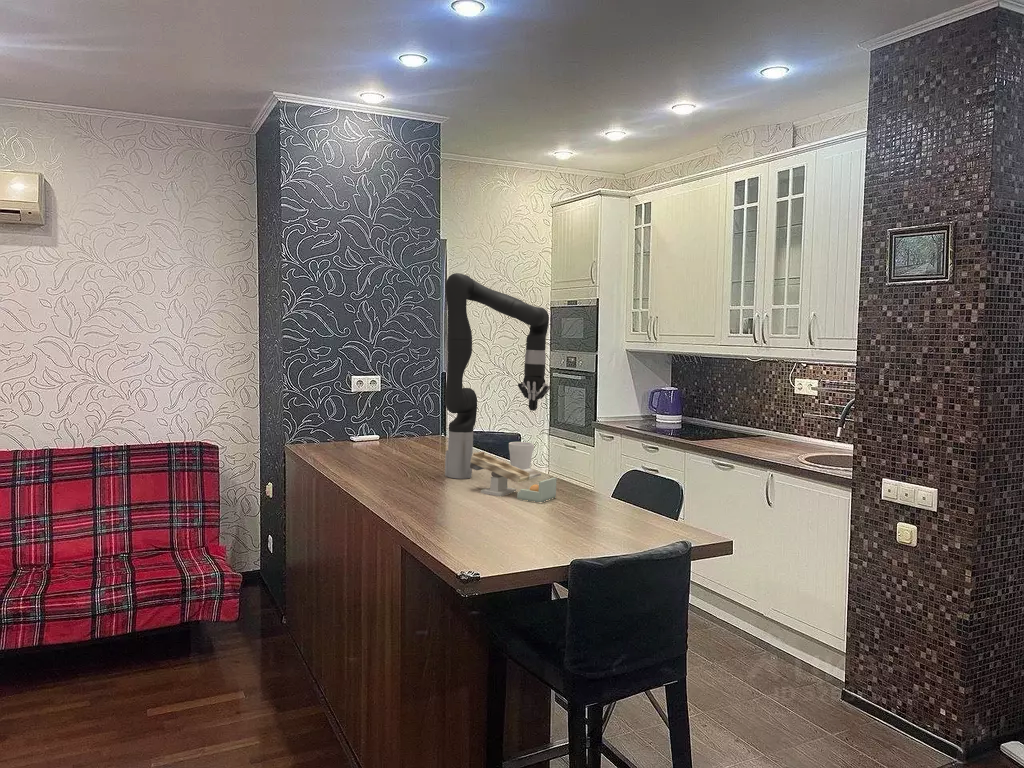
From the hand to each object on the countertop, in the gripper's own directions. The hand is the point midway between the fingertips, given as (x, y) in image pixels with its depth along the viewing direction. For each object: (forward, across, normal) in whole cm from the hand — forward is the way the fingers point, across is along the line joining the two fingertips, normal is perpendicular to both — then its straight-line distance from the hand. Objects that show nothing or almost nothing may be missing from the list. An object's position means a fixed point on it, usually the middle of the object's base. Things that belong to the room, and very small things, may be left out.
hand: (532, 410), depth 285 cm
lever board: (+21, 0, -17) cm, 27 cm away
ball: (+24, +15, -21) cm, 35 cm away
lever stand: (+27, 0, -21) cm, 34 cm away
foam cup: (+27, -8, +6) cm, 29 cm away
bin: (+27, +15, -21) cm, 37 cm away
